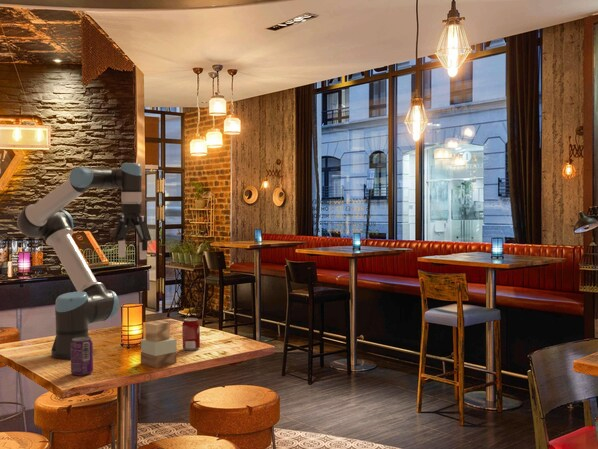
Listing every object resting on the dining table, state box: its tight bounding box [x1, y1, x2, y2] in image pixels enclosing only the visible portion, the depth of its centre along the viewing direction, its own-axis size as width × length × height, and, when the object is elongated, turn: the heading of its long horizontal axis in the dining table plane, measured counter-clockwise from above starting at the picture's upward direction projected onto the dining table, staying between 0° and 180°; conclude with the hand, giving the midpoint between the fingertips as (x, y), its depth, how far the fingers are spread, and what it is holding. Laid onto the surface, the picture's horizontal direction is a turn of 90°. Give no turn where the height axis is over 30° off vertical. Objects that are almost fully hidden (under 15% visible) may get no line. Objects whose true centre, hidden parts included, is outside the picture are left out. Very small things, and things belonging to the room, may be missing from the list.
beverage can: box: [70, 336, 94, 376], centre depth 212 cm, size 7×7×12 cm
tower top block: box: [140, 337, 178, 356], centre depth 225 cm, size 9×9×4 cm
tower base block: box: [140, 351, 178, 369], centre depth 226 cm, size 9×9×4 cm
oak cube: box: [145, 320, 171, 342], centre depth 225 cm, size 6×6×6 cm
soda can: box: [181, 317, 201, 352], centre depth 247 cm, size 7×7×12 cm
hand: (132, 258), depth 241 cm, fingers open, 13 cm apart
